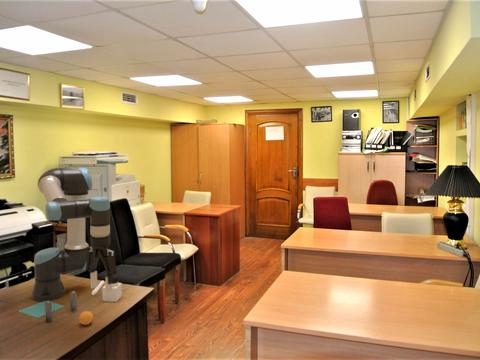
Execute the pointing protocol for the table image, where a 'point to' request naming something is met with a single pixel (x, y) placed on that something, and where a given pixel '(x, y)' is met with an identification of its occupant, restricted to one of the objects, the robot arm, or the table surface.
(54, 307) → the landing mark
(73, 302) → the post
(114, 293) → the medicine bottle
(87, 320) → the ball
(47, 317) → the post
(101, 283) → the marker
